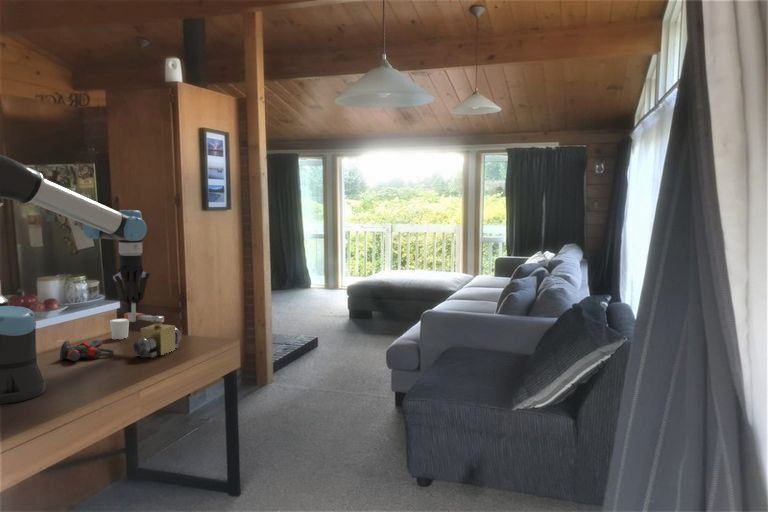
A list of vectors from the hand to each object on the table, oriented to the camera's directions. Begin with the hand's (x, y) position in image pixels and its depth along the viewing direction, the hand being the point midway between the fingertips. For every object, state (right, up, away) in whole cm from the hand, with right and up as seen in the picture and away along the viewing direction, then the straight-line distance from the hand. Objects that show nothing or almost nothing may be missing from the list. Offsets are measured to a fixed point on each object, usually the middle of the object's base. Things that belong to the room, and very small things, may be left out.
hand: (132, 321), depth 195 cm
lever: (+4, 0, +1) cm, 4 cm away
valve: (-12, -11, -3) cm, 17 cm away
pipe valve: (+9, -11, 0) cm, 14 cm away
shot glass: (-13, -9, +19) cm, 25 cm away
